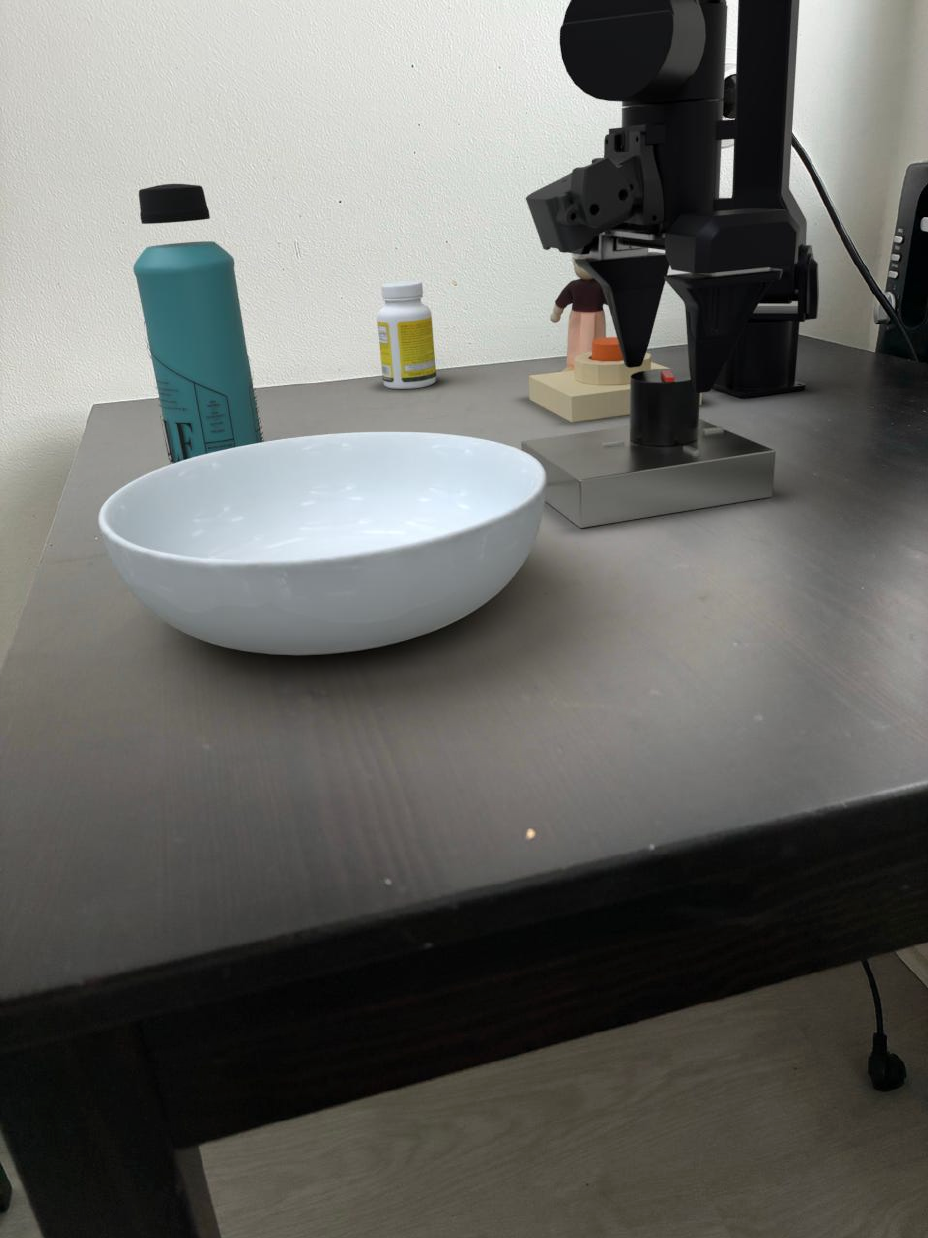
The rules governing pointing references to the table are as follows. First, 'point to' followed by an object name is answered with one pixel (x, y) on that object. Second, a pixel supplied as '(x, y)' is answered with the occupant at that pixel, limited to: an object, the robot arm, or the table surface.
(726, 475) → the dial panel
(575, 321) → the grandmother figurine
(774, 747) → the table surface
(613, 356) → the power button
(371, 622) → the serving bowl
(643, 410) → the brew dial
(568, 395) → the coffee base
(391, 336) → the supplement bottle
